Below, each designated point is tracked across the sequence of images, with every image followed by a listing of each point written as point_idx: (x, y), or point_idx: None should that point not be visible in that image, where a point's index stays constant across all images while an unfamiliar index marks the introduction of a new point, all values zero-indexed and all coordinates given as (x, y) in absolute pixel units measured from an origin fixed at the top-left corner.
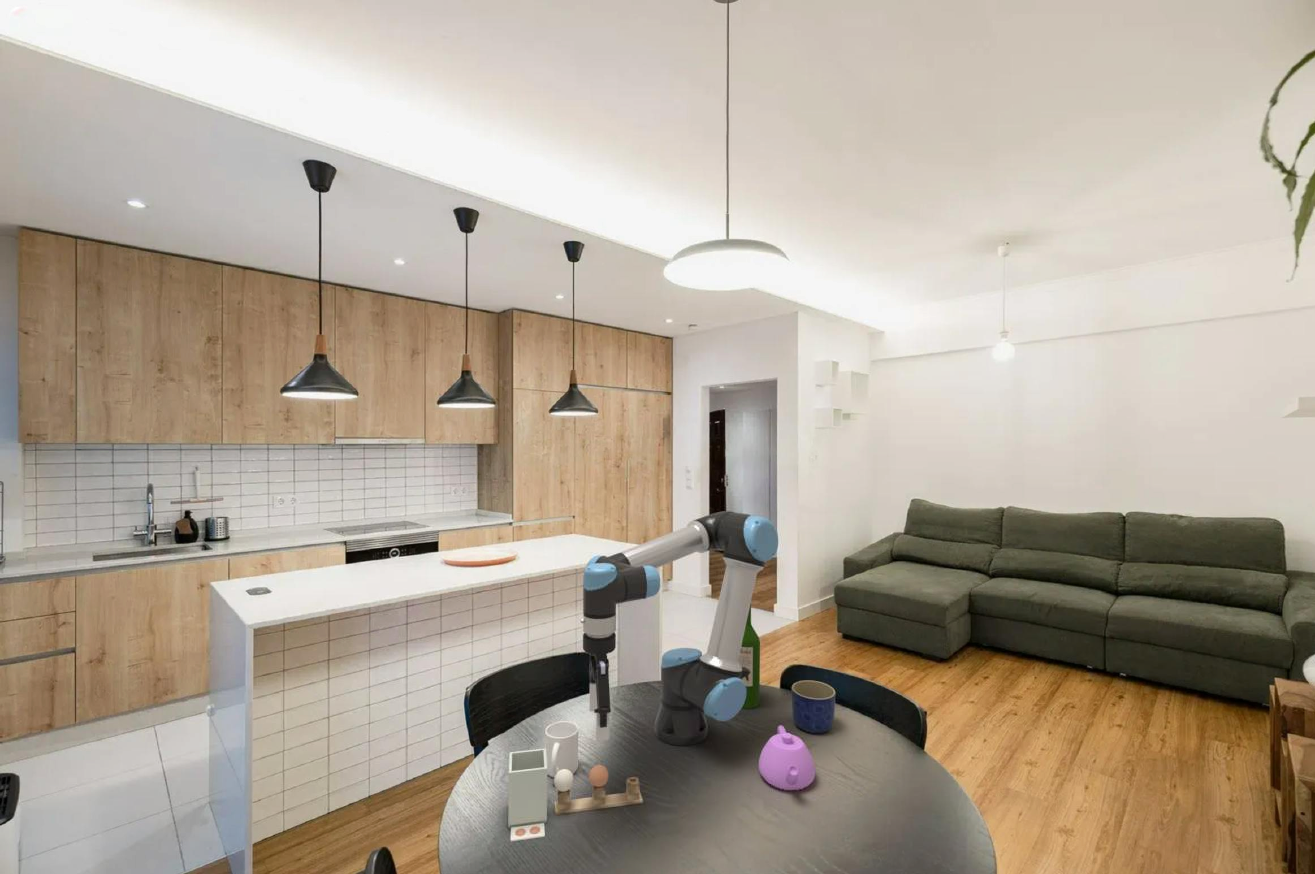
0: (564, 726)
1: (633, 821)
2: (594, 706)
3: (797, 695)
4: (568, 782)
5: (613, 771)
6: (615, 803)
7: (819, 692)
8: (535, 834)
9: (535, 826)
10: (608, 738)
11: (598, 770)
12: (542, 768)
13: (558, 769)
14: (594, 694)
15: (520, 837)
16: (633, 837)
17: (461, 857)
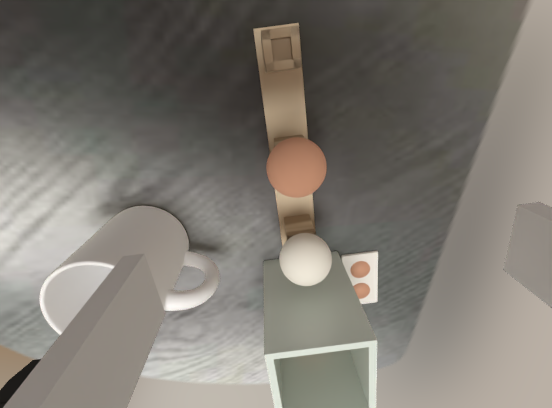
0: (55, 295)
1: (368, 58)
2: (147, 312)
3: None
4: (329, 250)
5: (147, 107)
6: (303, 106)
7: None
8: (371, 267)
9: (348, 269)
10: (547, 207)
11: (314, 176)
12: (373, 350)
13: (189, 256)
14: (102, 401)
15: (373, 288)
16: (425, 62)
17: (393, 353)
